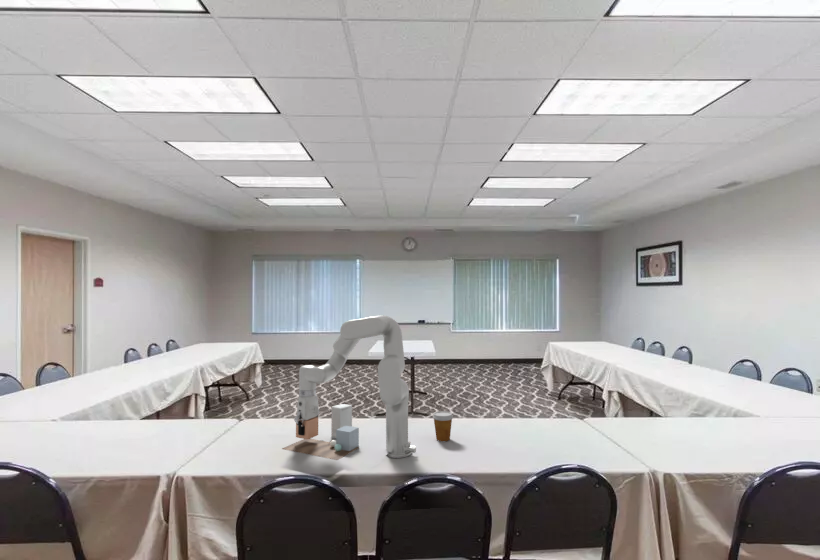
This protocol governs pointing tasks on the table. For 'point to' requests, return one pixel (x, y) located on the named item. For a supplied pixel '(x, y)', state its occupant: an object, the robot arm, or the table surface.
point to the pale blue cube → (347, 437)
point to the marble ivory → (333, 443)
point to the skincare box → (340, 417)
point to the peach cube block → (309, 428)
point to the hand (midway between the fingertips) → (307, 432)
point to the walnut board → (318, 449)
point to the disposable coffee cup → (442, 425)
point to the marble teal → (337, 447)
